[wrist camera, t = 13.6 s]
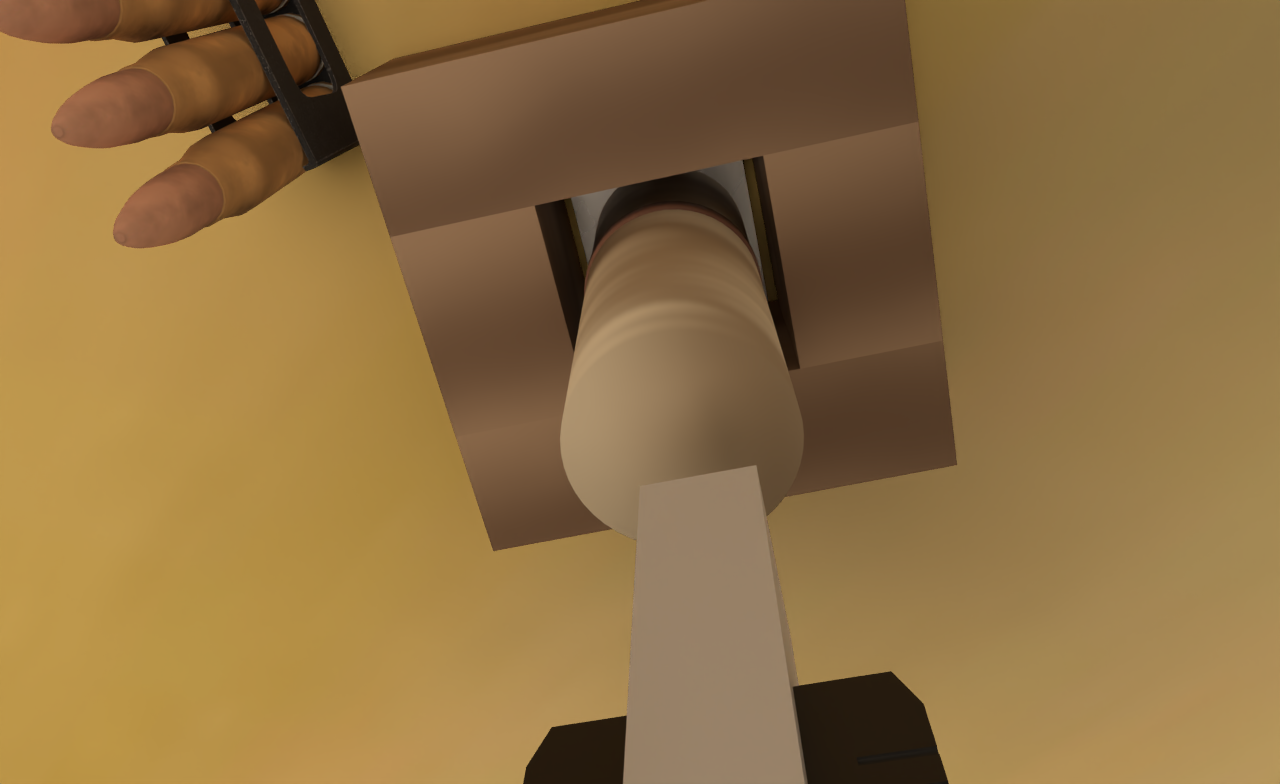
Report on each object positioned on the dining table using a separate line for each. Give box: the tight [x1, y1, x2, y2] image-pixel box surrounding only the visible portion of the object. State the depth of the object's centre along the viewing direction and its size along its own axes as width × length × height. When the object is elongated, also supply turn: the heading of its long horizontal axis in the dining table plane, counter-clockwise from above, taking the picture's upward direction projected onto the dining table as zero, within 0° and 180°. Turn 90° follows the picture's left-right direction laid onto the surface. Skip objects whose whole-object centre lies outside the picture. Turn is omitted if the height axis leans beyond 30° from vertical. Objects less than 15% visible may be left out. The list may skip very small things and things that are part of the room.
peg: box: [560, 170, 804, 540], centre depth 23 cm, size 4×4×12 cm
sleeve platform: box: [571, 160, 768, 302], centre depth 28 cm, size 5×5×1 cm
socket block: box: [341, 0, 957, 551], centre depth 27 cm, size 12×12×5 cm
